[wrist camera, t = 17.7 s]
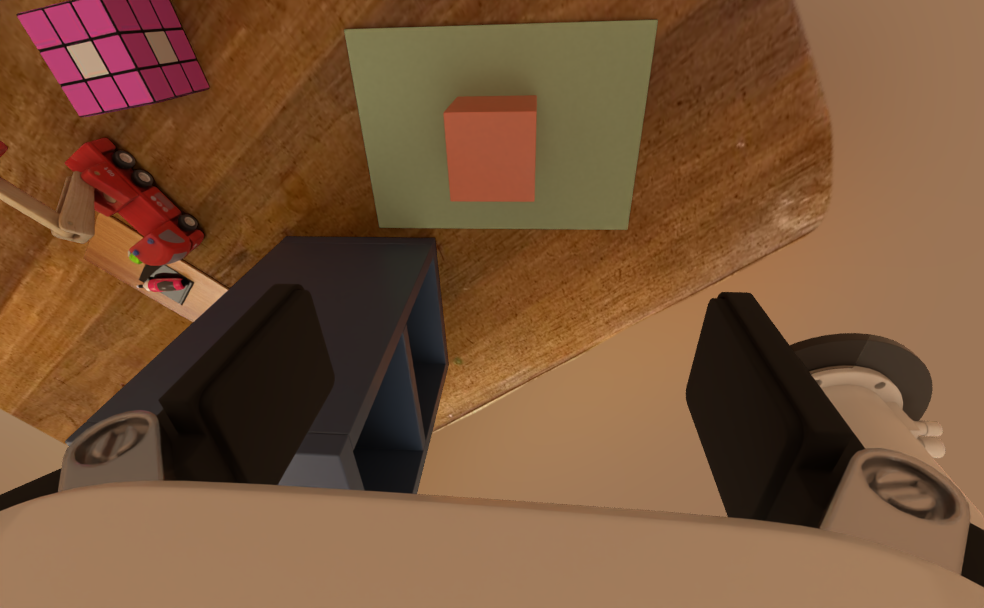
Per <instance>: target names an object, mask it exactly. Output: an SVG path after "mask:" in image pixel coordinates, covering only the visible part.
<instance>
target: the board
mask: <svg viewBox="0 0 984 608" xmlns="http://www.w3.org/2000/svg"><path fill="white" fill-rule="evenodd" d="M94 227H95V235H94V236H93V237H92V238H91V239H90V241H89V244H88V247H87V250H86V253H85V256H84V259H85V260H87V261H89V262H90V263H92V264H94V265H96V266H97V267H99V268H101V269H102V270H104V271H106V272H108V273H109V274H111V275H113V276H114V277H116V278H118V279H120V280H121V281H123V282H125V283H126V284H128V285H130V286H132V287H133V288H135V289H137V290H138V291H140V292H142V293H144V294H145V295H147V296H149V297H150V298H152V299H154V300H156V301H157V302H159V303H161V304H162V305H164V306H166V307H168V308H169V309H171V310H173V311H174V312H176V313H178V314H180V315H181V316H183V317H185V318H186V319H188V320H190V321H192V322H194V321H195V320H196V319H197V318H199V317H200V316H201V315H202V314H203V313H204V312H205V311H206V310H207V309H208V308H209V307H210V306H211V305H213V304H214V303H215V302H216V301H217V300H218V299H219V298H220V297H221V296H222V295H223V294H224V293H226V292H227V291H228V290H229V288H227V287H225V286H224V285H222V284H221V283H219V282H217V281H216V280H214V279H213V278H211V277H209V276H208V275H206V274H204V273H203V272H201V271H200V270H198V269H196V268H195V267H193V266H192V265H190V264H188V263H187V262H185V261H184V260H182V259H181V260H179V261H177V262H174V263H171V264H167V265H160V266H151V265H147V264H144V263H143V262H141V261H140V260H139V259H138V258H137V257H135V256H134V255H133V254H132V253H131V252H130V251H129V249H130V248H131V247H133V246H134V245H135V244H136V243H137V242H139V241H140V240H141V239H143V238H144V236H143V235H142V234H140V233H139V232H137V231H135V230H134V229H132V228H130V227H129V226H127V225H126V224H124V223H122V222H121V221H119V220H118V219H116V218H114V217H113V216H109V217H107V216H105V215H103V214H101V213H99V214H98V217H97V220H96V223H95V226H94Z"/></svg>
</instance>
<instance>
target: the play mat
mask: <svg viewBox="0 0 984 608" xmlns="http://www.w3.org/2000/svg"><path fill="white" fill-rule="evenodd" d="M657 23H658V20H626V21H593V22H561V23H529V24H496V25H464V26H432V27H399V28H367V29H344V32H345V38H346V44H347V49H348V55H349V60H350V66H351V72H352V77H353V83H354V88H355V94H356V100H357V105H358V111H359V116H360V122H361V128H362V133H363V139H364V145H365V150H366V156H367V161H368V167H369V173H370V178H371V184H372V189H373V195H374V201H375V206H376V212H377V217H378V223H379V228H469V229H594V230H627V229H628V222H629V215H630V209H631V202H632V195H633V188H634V181H635V174H636V167H637V161H638V154H639V147H640V140H641V133H642V126H643V119H644V113H645V106H646V99H647V92H648V85H649V78H650V71H651V65H652V58H653V51H654V44H655V37H656V30H657ZM524 95H536V96H537V122H536V163H535V201H534V202H466V201H450V189H449V177H448V165H447V152H446V140H445V128H444V116H443V113H444V111H445V110H446V109H447V108H448V107H449V106H450V104H451V103H452V102H453V101H454V100H455V99H456V98H457V97H465V96H524Z"/></svg>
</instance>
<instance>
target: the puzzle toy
mask: <svg viewBox="0 0 984 608" xmlns="http://www.w3.org/2000/svg"><path fill="white" fill-rule="evenodd" d="M17 17H18V18H19V20H20V21H21V23H22V25H23V26H24V28H25V30H26V31H27V33H28V34H29V36H30V38H31V39H32V41H33V42H34V44H35V46H36V47H37V49H38V50H39V51H40V54H41V55H42V57H43V58H44V60H45V62H46V63H47V65H48V66H49V68H50V70H51V71H52V73H53V74H54V76H55V78H56V79H57V81H58V83H59V84H60V85H61V87H62V89H63V91H64V92H65V94H66V95H67V97H68V99H69V100H70V102H71V103H72V105H73V107H74V108H75V110H76V111H77V113H78V115H79V116H80V117H82V118H83V117H84V116H86V117H88V116H89V115H90V116H93V115H98V114H104V113H109V112H114V111H119V110H124V109H129V108H134V107H139V106H144V105H150V104H155V103H159V102H163V101H166V100H170V99H174V98H178V97H182V96H185V95H189V94H193V93H197V92H201V91H205V90H206V89H207V90H208V89H209V85H208V83H207V81H206V79H205V77H204V75H203V72H202V70H201V68H200V66H199V64H198V62H197V60H195V59H196V57H195V55H194V53H193V51H192V49H191V46H190V44H189V42H188V40H187V38H186V36H185V33H184V31H183V29H181V28H182V27H181V25H180V23H179V20H178V18H177V16H176V14H175V12H174V10H173V7H172V5H171V3H170V1H169V0H72V1H66V2H62V3H58V4H54V5H50V6H46V7H43V8H38V9H34V10H30V11H26V12H22V13H18V14H17Z"/></svg>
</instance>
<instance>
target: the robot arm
mask: <svg viewBox="0 0 984 608" xmlns="http://www.w3.org/2000/svg"><path fill="white" fill-rule="evenodd" d="M334 381H335V375H334V371H333V367H332V364H331V360H330V357H329V354H328V350H327V347H326V343H325V340H324V337H323V333H322V330H321V326H320V323H319V319H318V316H317V313H316V309H315V306H314V302H313V299H312V296H311V293H310V292H309V291H308V290H304V288H303V286H302V285H300V284H274V285H273V286H271V287H270V288H269V289H268V290H267V291H266V292H265V293H264V294H263V295H262V296H261V297H260V298H259V299H258V300H257V301H256V302H255V303H254V304H253V305H252V306H251V307H250V308H249V309H248V310H247V311H246V312H245V313H244V314H243V315H242V316H241V317H240V318H239V319H238V320H237V321H236V322H235V323H234V324H233V325H232V326H231V327H230V328H229V329H228V330H227V332H226V333H225V334H224V335H223V336H222V337H221V338H220V339H219V340H218V341H217V342H216V343H215V344H214V345H213V346H212V347H211V348H210V349H209V350H208V351H207V352H206V353H205V354H204V355H203V356H202V357H201V358H200V359H199V360H198V361H197V362H196V363H195V364H194V365H193V366H192V367H191V368H190V369H189V370H188V371H187V372H186V373H185V374H184V375H183V376H182V377H181V378H180V379H179V380H178V381H177V382H176V383H175V384H174V385H173V386H172V387H171V388H170V389H169V390H168V391H167V392H166V393H165V394H164V395H163V396H162V397H161V398H160V399H159V400H158V401H159V402H160V404H161V406H162V407H163V410H162V411H161V412H160V413H159V414H158V415H157V416H156V415H155V414H153V413H152V412H150V411H144V410H135V411H127V412H124V413H120V414H117V415H113V416H111V417H109V418H107V419H104V420H102V421H100V422H98V423H96V424H95V425H93V426H92V427H90V428H88V429H87V430H85V431H84V432H83V433H82V434H80V435H79V436H78V437H77V438H76V439H75V440H74V441H73V442H72V443H71V444H70V446H69V447H68V448H67V450H66V452H65V455H64V458H63V462H62V468H61V469H59V470H56V471H54V472H52V473H50V474H47V475H45V476H43V477H40V478H38V479H36V480H34V481H31V482H29V483H26V484H24V485H22V486H20V487H18V488H15V489H13V490H11V491H8V492H6V493H4V494H1V495H0V608H984V516H983V515H982V514H981V513H980V511H979V510H978V509H977V508H976V507H975V506H974V504H973V503H972V502H971V501H970V500H969V499H968V498H967V496H966V495H965V494H964V493H963V492H962V491H961V490H960V489H959V487H958V486H957V485H956V484H955V483H954V481H953V480H952V479H951V478H950V477H949V476H948V475H947V473H946V472H945V471H944V470H943V469H942V468H941V466H939V464H938V463H937V462H936V461H935V460H934V459H933V458H942V457H943V456H944V455H945V445H944V444H943V442H942V441H941V440H940V439H939V438H935V437H922V436H919V435H923V436H940V435H941V434H942V432H943V429H942V426H941V425H940V423H938V422H936V421H913V420H912V419H910V418H909V417H908V416H907V414H906V413H905V412H904V411H903V410H902V408H903V400H902V395H901V393H900V391H899V390H898V388H897V387H896V386H895V385H894V384H893V383H892V381H891V380H890V379H889V378H887V377H886V376H884V375H883V374H881V373H880V372H878V371H875V370H872V369H870V368H865V367H859V366H844V365H842V366H832V367H825V368H820V369H816V370H812V371H808V370H807V368H806V367H805V365H804V364H803V363H802V361H801V360H800V359H799V358H798V357H797V355H796V354H795V353H794V351H793V350H792V348H791V347H790V346H789V344H788V343H787V342H786V340H785V339H784V338H783V336H782V335H781V333H780V332H779V331H778V329H777V328H776V327H775V325H774V324H773V322H772V321H771V320H770V318H769V317H768V316H767V314H766V313H765V311H764V310H763V309H762V307H761V306H760V305H759V303H758V302H757V301H756V299H755V298H754V297H753V295H752V294H751V293H741V292H739V293H738V292H722V293H720V294H719V296H718V297H717V298H715V299H714V298H712V299H711V300H710V302H709V304H708V307H707V311H706V314H705V318H704V322H703V326H702V330H701V334H700V338H699V341H698V345H697V349H696V353H695V357H694V361H693V364H692V369H691V372H690V376H689V380H688V384H687V388H686V401H687V405H688V407H689V410H690V413H691V415H692V419H693V421H694V424H695V427H696V429H697V432H698V435H699V438H700V441H701V444H702V446H703V449H704V452H705V454H706V457H707V460H708V463H709V465H710V468H711V471H712V474H713V476H714V480H715V482H716V485H717V488H718V491H719V493H720V496H721V499H722V502H723V504H724V507H725V510H726V512H727V515H728V517H720V516H707V515H696V514H685V513H674V512H663V511H650V510H635V509H622V508H609V507H594V506H581V505H567V504H554V503H538V502H525V501H511V500H497V499H482V498H467V497H453V496H437V495H423V494H408V493H393V492H378V491H362V490H346V489H330V488H313V487H297V486H281V485H278V484H279V482H280V480H281V478H282V477H283V475H284V473H285V471H286V470H287V468H288V466H289V464H290V463H291V461H292V459H293V457H294V455H295V454H296V452H297V450H298V448H299V447H300V445H301V443H302V441H303V440H304V438H305V436H306V434H307V433H308V431H309V429H310V427H311V425H312V424H313V422H314V420H315V418H316V417H317V415H318V413H319V411H320V410H321V408H322V406H323V404H324V403H325V401H326V399H327V397H328V395H329V394H330V392H331V390H332V388H333V386H334Z"/></svg>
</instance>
